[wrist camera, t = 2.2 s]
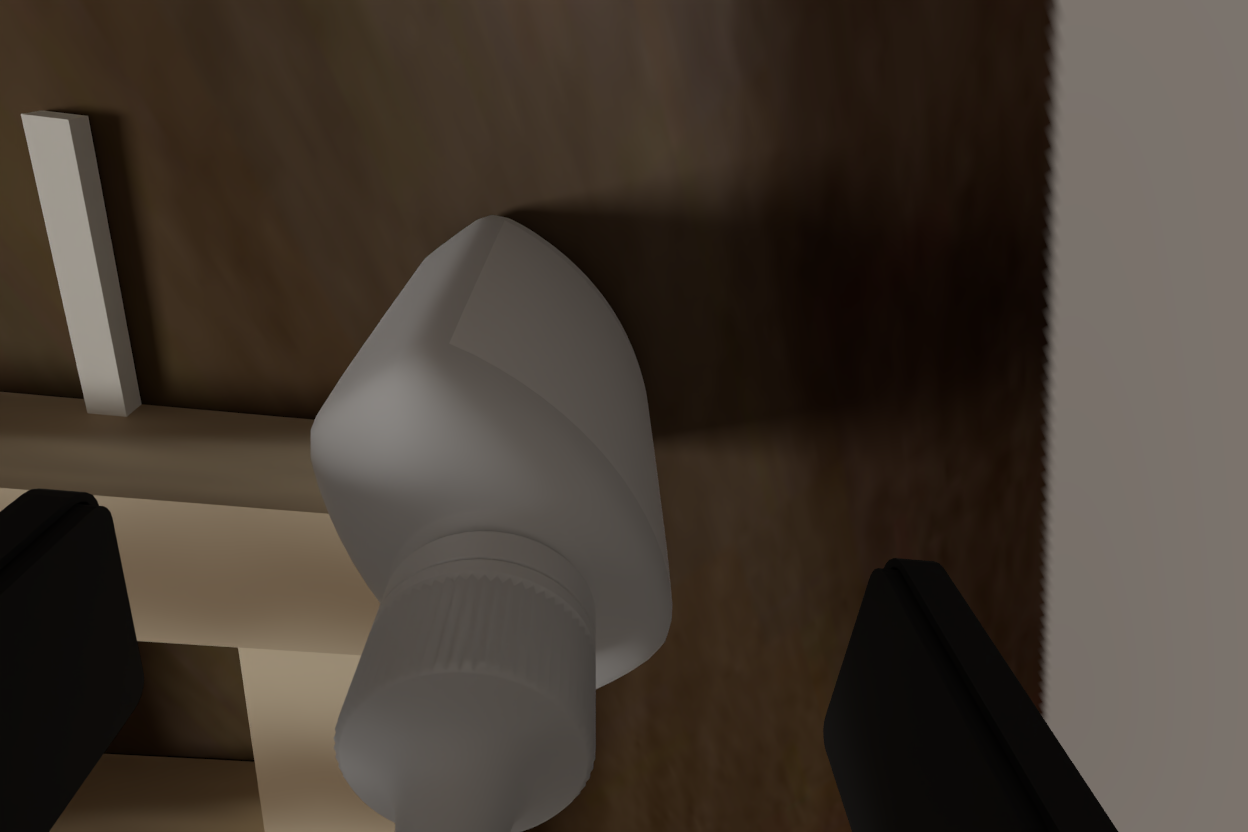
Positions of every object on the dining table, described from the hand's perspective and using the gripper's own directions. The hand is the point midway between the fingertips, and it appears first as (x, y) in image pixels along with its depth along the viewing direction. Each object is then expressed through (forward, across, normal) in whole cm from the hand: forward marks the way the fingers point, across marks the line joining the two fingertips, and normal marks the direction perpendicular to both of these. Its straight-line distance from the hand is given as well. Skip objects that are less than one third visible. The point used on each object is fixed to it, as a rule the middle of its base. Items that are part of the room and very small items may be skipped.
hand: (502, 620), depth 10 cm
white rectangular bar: (+8, +9, -1) cm, 12 cm away
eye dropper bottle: (+8, 0, -1) cm, 8 cm away
